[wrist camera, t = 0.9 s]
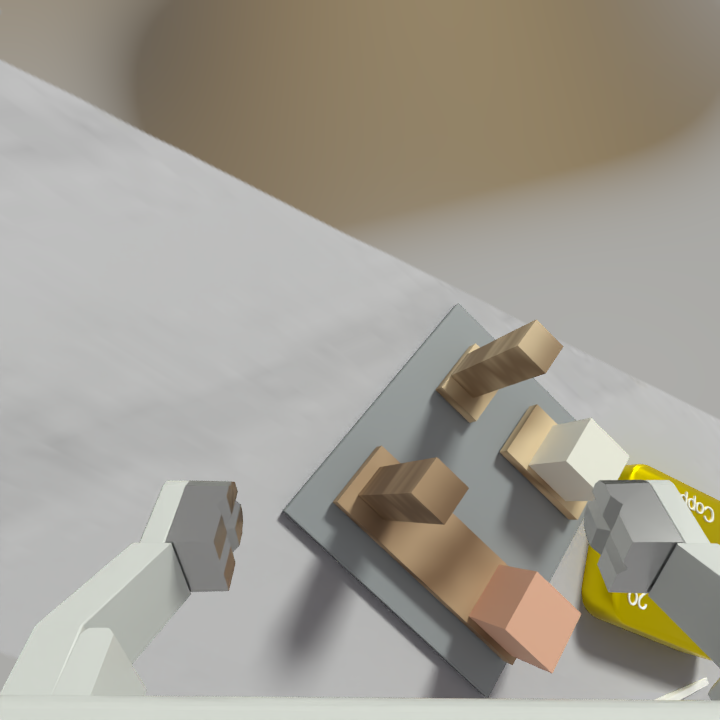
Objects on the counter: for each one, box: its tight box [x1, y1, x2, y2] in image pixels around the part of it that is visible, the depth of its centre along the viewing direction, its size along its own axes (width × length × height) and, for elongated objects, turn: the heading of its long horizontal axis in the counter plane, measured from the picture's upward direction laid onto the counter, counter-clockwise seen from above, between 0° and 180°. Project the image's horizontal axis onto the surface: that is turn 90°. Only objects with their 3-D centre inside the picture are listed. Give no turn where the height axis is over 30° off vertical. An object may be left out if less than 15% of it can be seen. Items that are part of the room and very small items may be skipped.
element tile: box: [582, 464, 720, 660], centre depth 51 cm, size 15×15×5 cm
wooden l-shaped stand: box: [333, 445, 516, 665], centre depth 39 cm, size 20×6×11 cm, turn 50°
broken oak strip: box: [436, 320, 588, 520], centre depth 45 cm, size 18×6×11 cm, turn 50°
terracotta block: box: [469, 565, 581, 673], centre depth 41 cm, size 5×5×5 cm
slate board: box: [283, 303, 591, 697], centre depth 48 cm, size 23×26×1 cm
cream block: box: [529, 418, 630, 501], centre depth 47 cm, size 5×5×5 cm
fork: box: [655, 678, 708, 700], centre depth 48 cm, size 3×20×2 cm, turn 101°
